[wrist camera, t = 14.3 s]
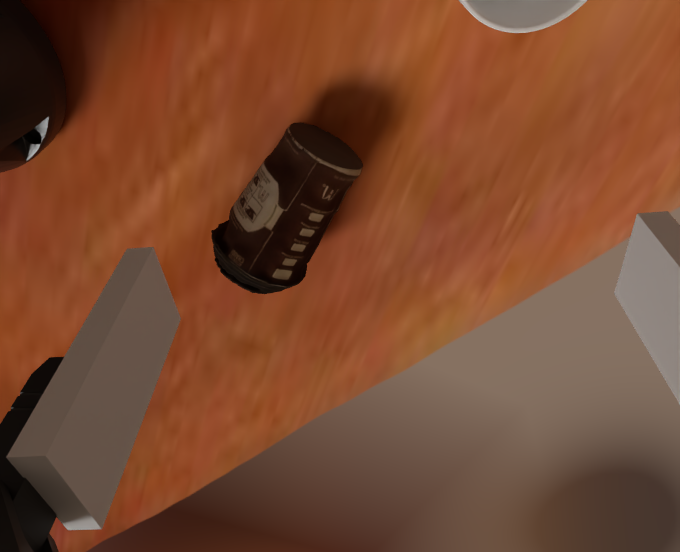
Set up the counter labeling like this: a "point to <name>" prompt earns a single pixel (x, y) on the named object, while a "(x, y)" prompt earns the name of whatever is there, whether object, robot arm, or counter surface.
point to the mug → (521, 13)
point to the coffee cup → (285, 210)
